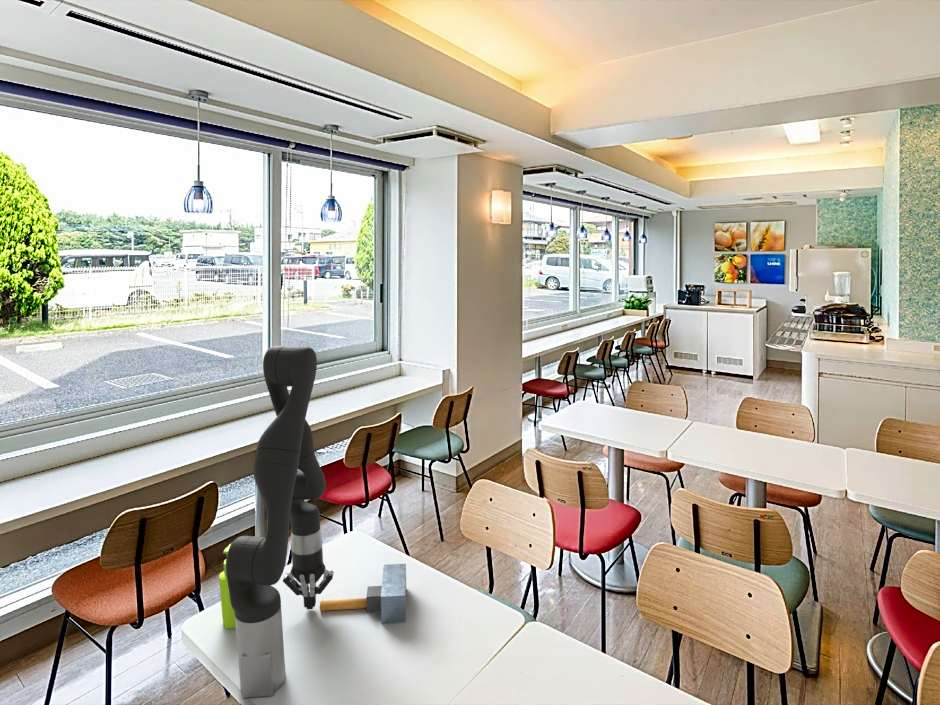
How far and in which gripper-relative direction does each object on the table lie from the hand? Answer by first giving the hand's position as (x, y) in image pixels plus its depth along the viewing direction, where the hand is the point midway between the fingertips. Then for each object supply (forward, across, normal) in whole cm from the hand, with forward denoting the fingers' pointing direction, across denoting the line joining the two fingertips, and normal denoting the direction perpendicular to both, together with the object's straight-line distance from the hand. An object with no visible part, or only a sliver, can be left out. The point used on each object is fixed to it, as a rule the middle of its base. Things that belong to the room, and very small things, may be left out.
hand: (310, 607), depth 148 cm
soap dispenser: (+1, -18, -2) cm, 18 cm away
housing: (+1, +22, 0) cm, 22 cm away
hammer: (+1, +11, 0) cm, 11 cm away
